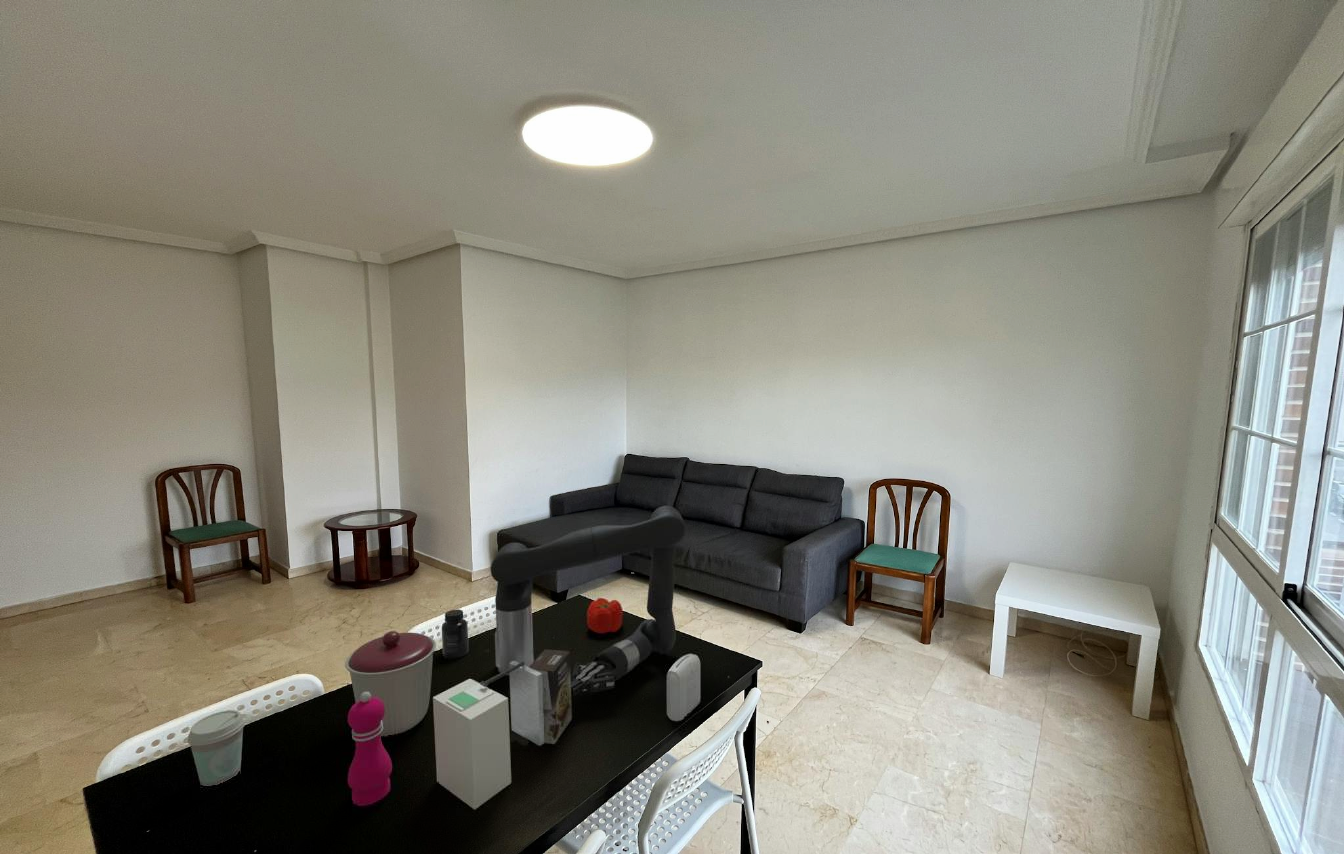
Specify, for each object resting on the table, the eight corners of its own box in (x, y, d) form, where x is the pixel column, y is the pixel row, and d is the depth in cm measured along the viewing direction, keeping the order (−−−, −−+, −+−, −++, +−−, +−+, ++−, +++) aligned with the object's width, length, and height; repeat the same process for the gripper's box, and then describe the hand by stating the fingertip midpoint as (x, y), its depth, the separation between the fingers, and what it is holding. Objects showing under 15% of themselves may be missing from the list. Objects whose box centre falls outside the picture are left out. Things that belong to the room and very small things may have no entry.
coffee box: (555, 744, 115) (553, 671, 114) (527, 740, 117) (525, 668, 116) (573, 718, 124) (571, 650, 123) (546, 715, 126) (544, 647, 124)
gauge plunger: (472, 754, 110) (468, 676, 108) (516, 726, 118) (513, 653, 117) (500, 773, 104) (497, 690, 103) (544, 742, 113) (541, 666, 112)
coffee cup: (202, 803, 100) (196, 741, 99) (184, 785, 105) (179, 726, 104) (256, 774, 108) (252, 716, 107) (238, 759, 112) (233, 703, 111)
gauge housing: (437, 781, 105) (432, 695, 104) (473, 757, 112) (469, 676, 110) (474, 809, 98) (470, 717, 97) (511, 782, 105) (507, 695, 103)
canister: (453, 720, 124) (448, 630, 123) (366, 761, 111) (360, 661, 109) (419, 690, 137) (415, 608, 135) (338, 723, 124) (332, 633, 122)
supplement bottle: (474, 650, 156) (472, 609, 155) (455, 661, 150) (453, 619, 149) (456, 645, 159) (454, 605, 158) (437, 656, 153) (435, 615, 152)
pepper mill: (360, 781, 105) (354, 682, 104) (399, 779, 106) (394, 680, 104) (341, 811, 98) (334, 705, 97) (383, 808, 99) (376, 702, 97)
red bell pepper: (579, 633, 166) (578, 604, 166) (604, 618, 176) (603, 591, 176) (607, 642, 161) (606, 612, 160) (631, 626, 171) (630, 598, 170)
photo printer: (687, 695, 133) (687, 647, 132) (703, 701, 131) (702, 651, 129) (664, 718, 124) (663, 665, 123) (680, 724, 122) (679, 671, 121)
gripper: (598, 638, 142) (546, 667, 128) (637, 653, 134) (588, 685, 120) (598, 666, 142) (547, 698, 128) (638, 682, 135) (589, 718, 121)
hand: (567, 692), depth 124 cm, fingers closed
